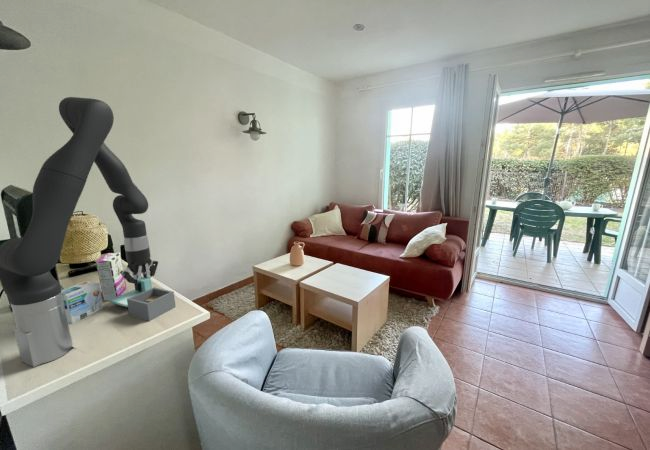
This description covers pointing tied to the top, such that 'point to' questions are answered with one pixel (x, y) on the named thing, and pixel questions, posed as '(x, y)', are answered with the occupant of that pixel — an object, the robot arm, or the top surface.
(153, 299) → the wood block
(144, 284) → the lid
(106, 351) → the top surface
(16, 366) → the top surface
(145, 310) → the tub
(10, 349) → the top surface
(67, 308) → the light bulb box
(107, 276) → the candy bar box
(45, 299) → the robot arm
